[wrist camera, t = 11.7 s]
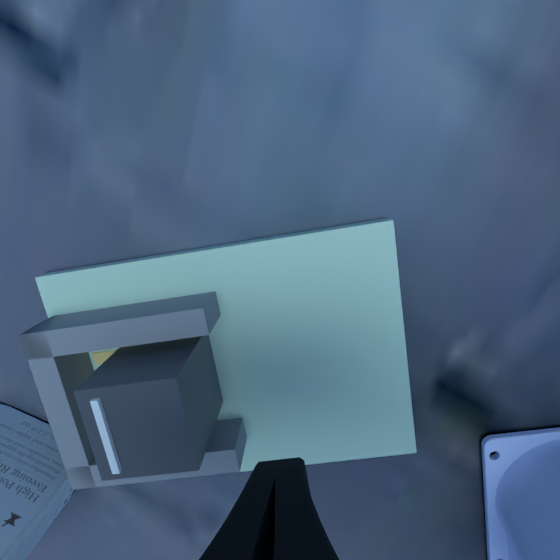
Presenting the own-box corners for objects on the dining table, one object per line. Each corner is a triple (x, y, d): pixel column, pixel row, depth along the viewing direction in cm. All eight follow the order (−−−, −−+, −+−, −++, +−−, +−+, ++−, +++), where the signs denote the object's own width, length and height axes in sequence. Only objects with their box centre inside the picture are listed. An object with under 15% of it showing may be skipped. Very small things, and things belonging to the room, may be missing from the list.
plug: (223, 401, 21) (197, 474, 16) (147, 410, 21) (99, 484, 16) (207, 327, 20) (174, 380, 15) (128, 338, 20) (70, 393, 15)
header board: (411, 440, 22) (431, 489, 18) (110, 473, 23) (78, 524, 20) (388, 217, 19) (407, 227, 15) (47, 272, 20) (-3, 292, 17)
